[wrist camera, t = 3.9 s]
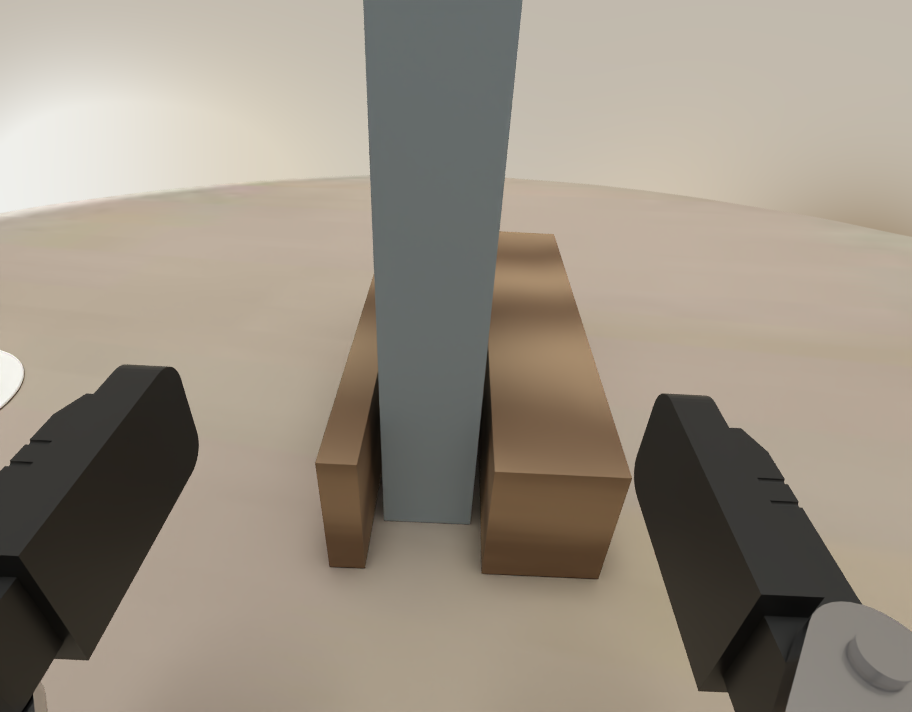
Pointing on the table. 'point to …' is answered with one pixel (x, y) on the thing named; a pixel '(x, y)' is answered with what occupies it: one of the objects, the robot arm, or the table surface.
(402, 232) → the cover panel
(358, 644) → the table surface
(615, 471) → the slot box
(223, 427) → the table surface
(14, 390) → the teacup and saucer
